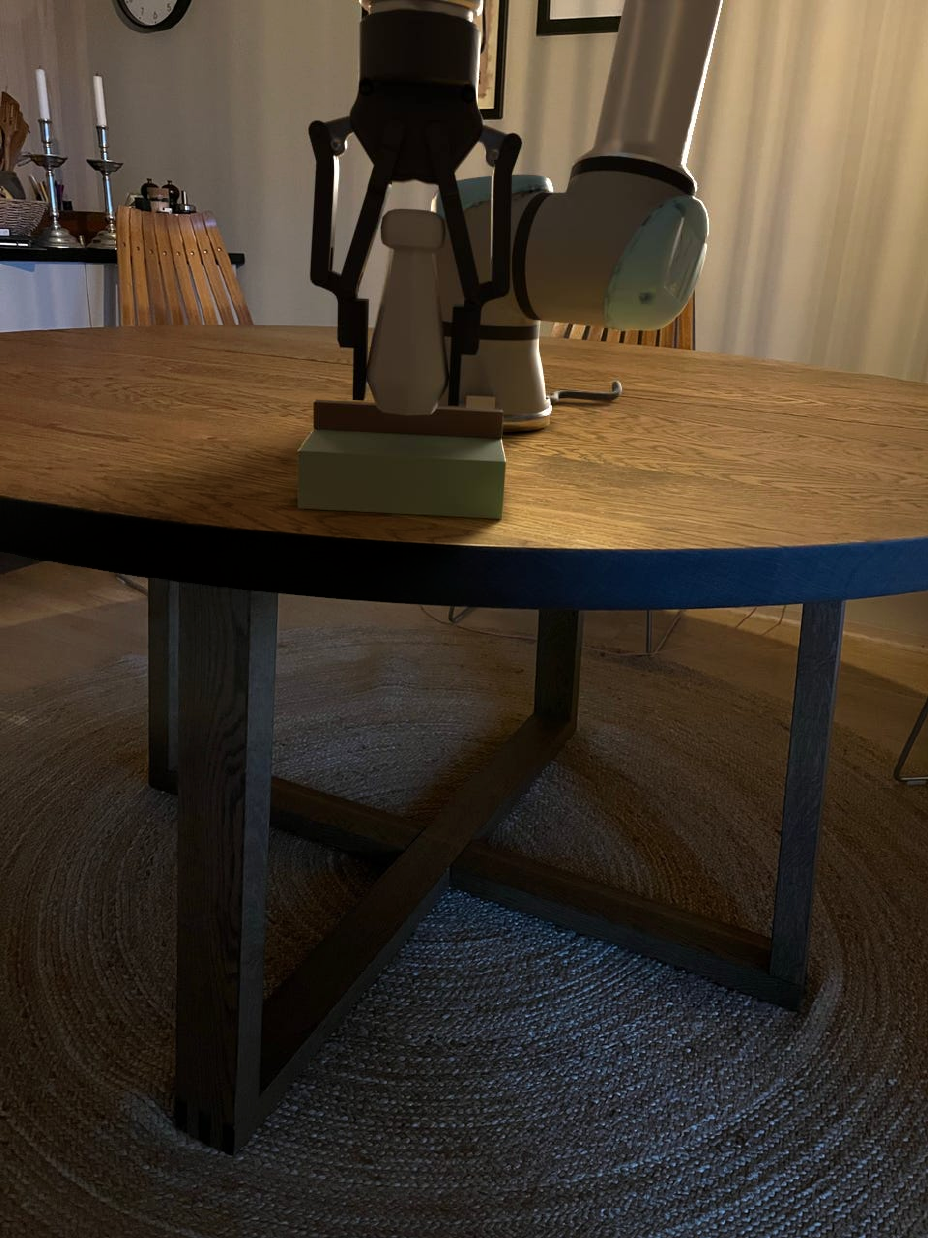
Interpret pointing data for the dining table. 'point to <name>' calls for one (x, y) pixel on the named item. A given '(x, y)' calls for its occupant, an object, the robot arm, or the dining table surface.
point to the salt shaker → (409, 317)
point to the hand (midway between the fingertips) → (406, 399)
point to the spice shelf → (403, 461)
